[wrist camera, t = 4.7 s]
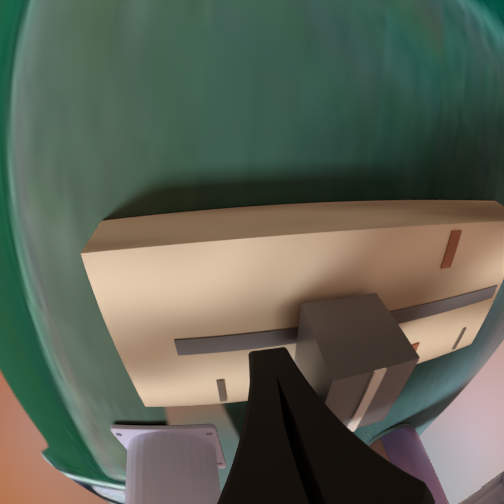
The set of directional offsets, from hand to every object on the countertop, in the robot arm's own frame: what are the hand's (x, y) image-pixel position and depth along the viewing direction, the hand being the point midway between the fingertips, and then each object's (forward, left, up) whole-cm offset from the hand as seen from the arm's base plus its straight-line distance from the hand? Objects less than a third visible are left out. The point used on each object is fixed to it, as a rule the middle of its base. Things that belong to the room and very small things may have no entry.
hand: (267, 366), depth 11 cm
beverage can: (-23, -15, -4) cm, 28 cm away
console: (0, -4, -4) cm, 6 cm away
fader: (0, -3, -1) cm, 3 cm away
